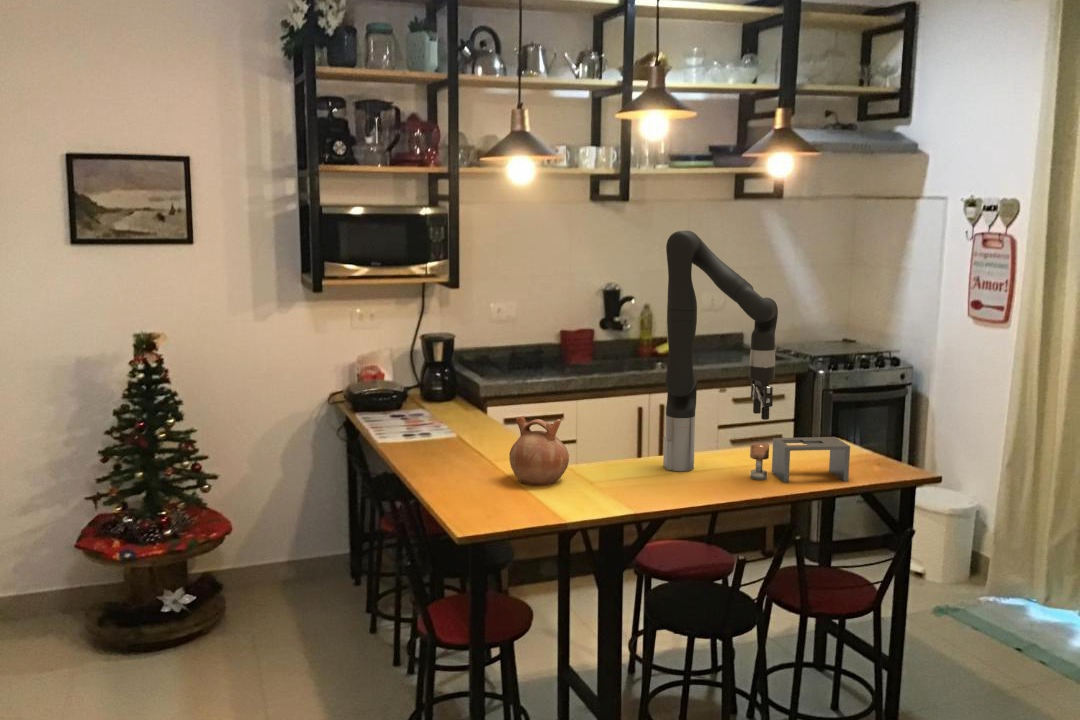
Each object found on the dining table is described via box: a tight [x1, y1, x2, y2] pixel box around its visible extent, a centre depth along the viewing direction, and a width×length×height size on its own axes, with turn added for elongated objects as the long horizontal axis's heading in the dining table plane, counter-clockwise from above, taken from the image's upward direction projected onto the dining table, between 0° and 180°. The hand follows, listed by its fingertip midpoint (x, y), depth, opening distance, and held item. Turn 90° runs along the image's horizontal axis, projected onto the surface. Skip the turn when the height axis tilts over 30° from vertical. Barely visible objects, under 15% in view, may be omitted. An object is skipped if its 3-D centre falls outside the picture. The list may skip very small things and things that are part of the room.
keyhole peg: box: [749, 442, 770, 481], centre depth 296 cm, size 6×6×10 cm
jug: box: [508, 415, 570, 487], centre depth 293 cm, size 18×18×20 cm
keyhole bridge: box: [771, 436, 851, 484], centre depth 297 cm, size 20×12×11 cm, turn 94°
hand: (760, 416), depth 294 cm, fingers open, 8 cm apart
